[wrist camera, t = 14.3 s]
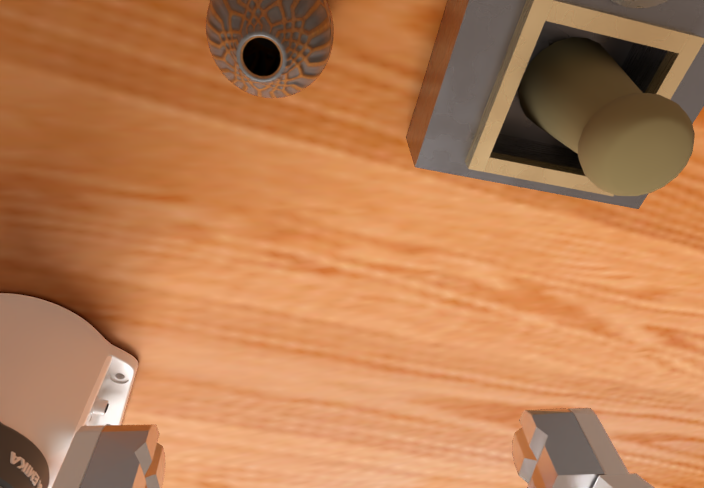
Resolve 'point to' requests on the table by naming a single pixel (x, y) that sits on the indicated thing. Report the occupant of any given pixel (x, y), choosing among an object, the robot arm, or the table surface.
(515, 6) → the grey rectangular box
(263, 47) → the vase
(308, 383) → the table surface
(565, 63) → the cork
